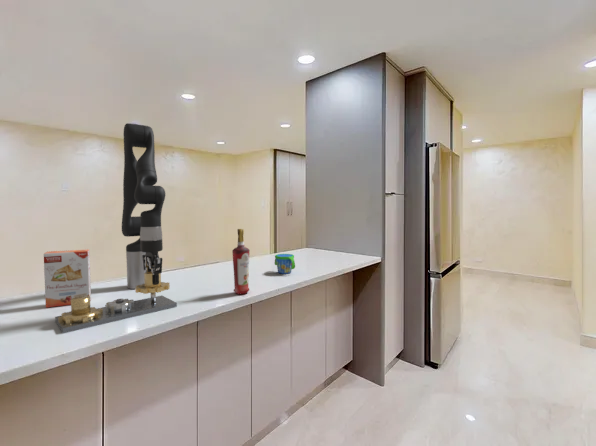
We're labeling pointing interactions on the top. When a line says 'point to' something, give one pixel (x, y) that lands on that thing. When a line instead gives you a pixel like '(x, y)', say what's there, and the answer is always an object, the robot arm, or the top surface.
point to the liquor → (241, 265)
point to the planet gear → (151, 285)
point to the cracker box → (66, 276)
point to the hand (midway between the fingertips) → (152, 282)
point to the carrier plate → (108, 311)
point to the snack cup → (284, 263)
